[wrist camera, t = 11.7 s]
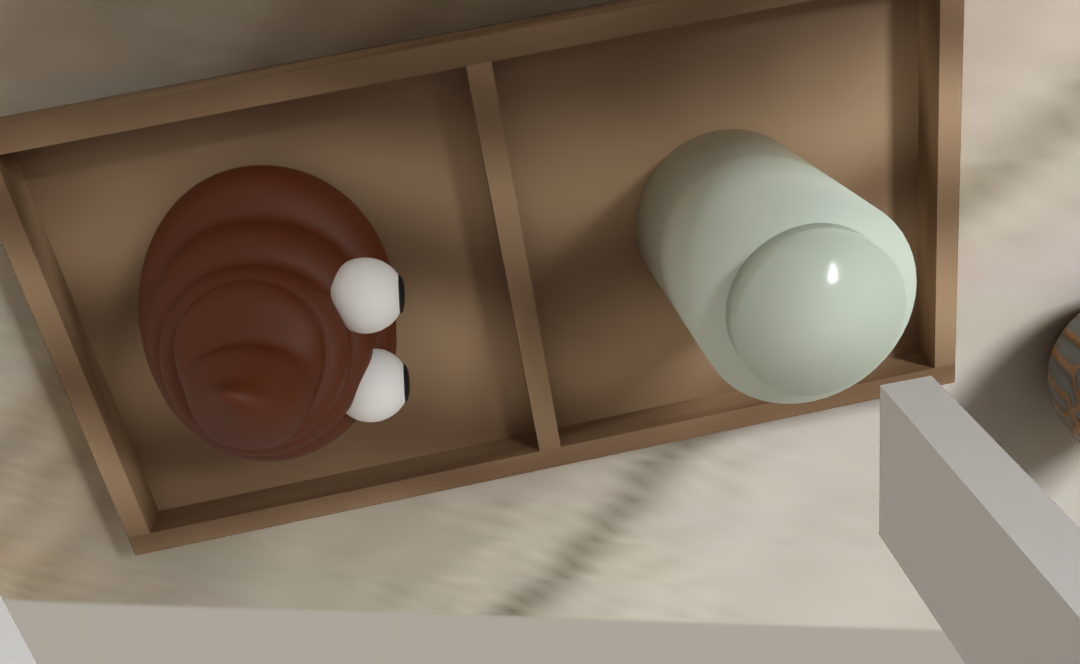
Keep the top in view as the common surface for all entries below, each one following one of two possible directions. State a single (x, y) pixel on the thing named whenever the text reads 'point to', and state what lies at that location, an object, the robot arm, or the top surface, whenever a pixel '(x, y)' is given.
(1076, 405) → the vase
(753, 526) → the top surface
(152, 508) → the divided wooden tray
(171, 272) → the poop emoji
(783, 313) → the jar
